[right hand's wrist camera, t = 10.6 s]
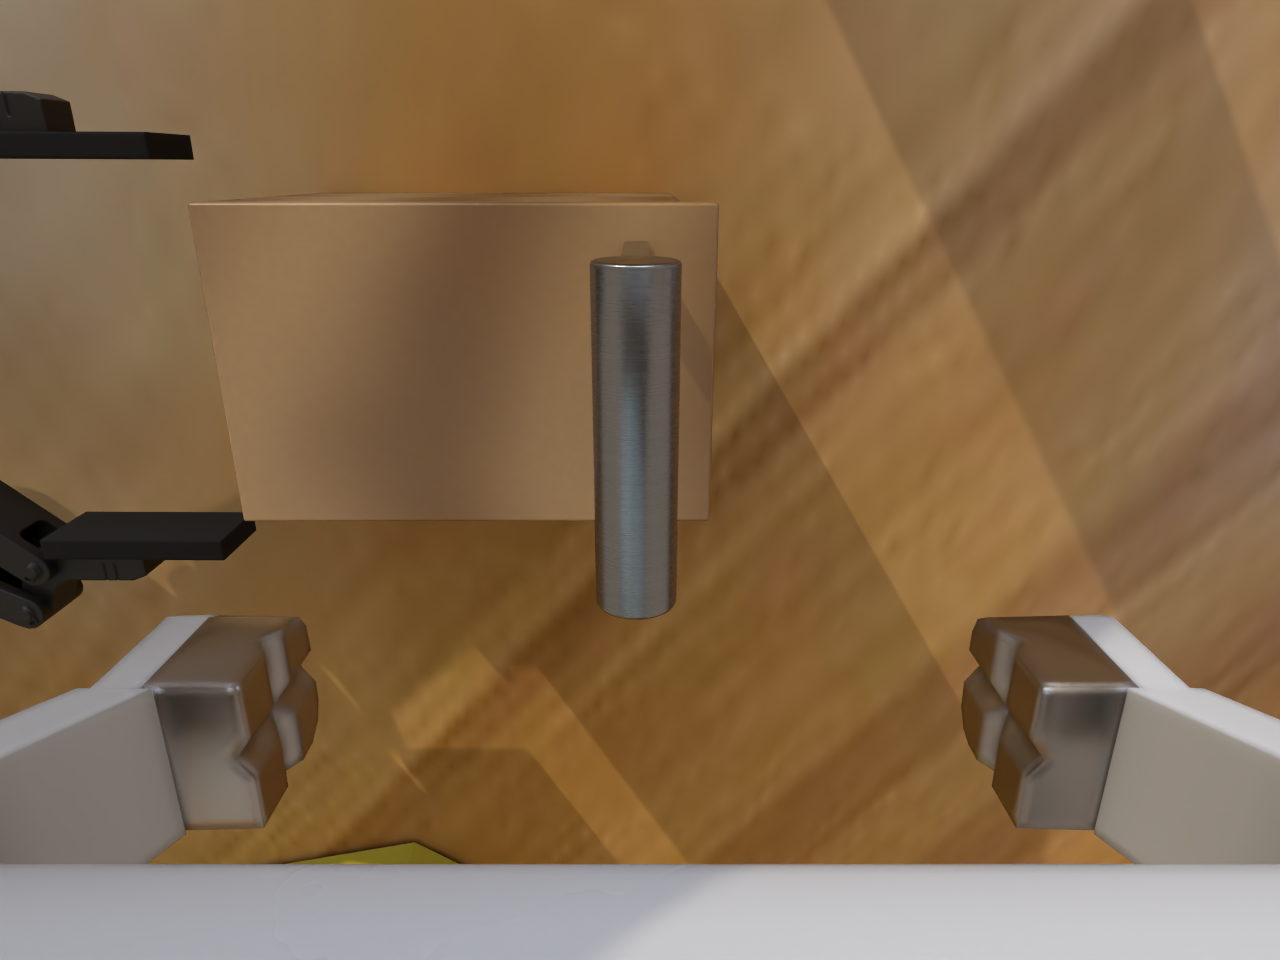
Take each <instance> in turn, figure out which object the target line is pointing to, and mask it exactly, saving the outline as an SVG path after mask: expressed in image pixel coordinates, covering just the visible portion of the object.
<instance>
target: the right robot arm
mask: <svg viewBox="0 0 1280 960" xmlns="http://www.w3.org/2000/svg"><path fill="white" fill-rule="evenodd" d="M310 650H311V648H310V643H309V638H308V633H307V628H306V625H305V624H304V623H303V621H302V620H301V619H300V618H299V617H269V616H215V615H182V616H171V617H166V618H165V619H164V620H163V621H162V622H161V623H160V624H159V625H158V626H157V627H156V628H155V629H153V630H152V631H151V632H150V633H149V634H148V635H147V636H146V637H145V638H144V639H143V640H142V641H141V642H139V643H138V644H137V645H136V646H135V647H134V648H133V649H132V650H131V651H130V652H129V653H128V654H127V655H125V656H124V657H123V658H122V659H121V660H120V661H119V662H118V663H117V664H116V665H115V666H114V667H113V668H111V669H110V670H109V671H108V672H107V673H106V674H105V675H104V676H103V677H102V678H101V679H100V680H99V681H97V682H96V683H95V684H94V685H93V686H92V687H91V688H76V689H73V690H71V691H69V692H66V693H64V694H61V695H59V696H56V697H54V698H52V699H49V700H47V701H44V702H42V703H39V704H37V705H35V706H32V707H30V708H27V709H25V710H22V711H20V712H18V713H15V714H13V715H10V716H8V717H5V718H3V719H1V720H0V960H1280V720H1279V719H1277V718H1274V717H1272V716H1269V715H1267V714H1265V713H1262V712H1260V711H1257V710H1255V709H1253V708H1250V707H1248V706H1245V705H1243V704H1240V703H1238V702H1236V701H1233V700H1231V699H1228V698H1226V697H1223V696H1221V695H1219V694H1216V693H1214V692H1211V691H1209V690H1207V689H1204V688H1189V687H1188V686H1187V685H1186V684H1185V683H1184V682H1183V681H1182V680H1180V679H1179V678H1178V677H1177V676H1176V675H1175V674H1174V673H1173V672H1172V671H1171V670H1170V669H1169V668H1168V667H1167V666H1165V665H1164V664H1163V663H1162V662H1161V661H1160V660H1159V659H1158V658H1157V657H1156V656H1155V655H1154V654H1153V653H1151V652H1150V651H1149V650H1148V649H1147V648H1146V647H1145V646H1144V645H1143V644H1142V643H1141V642H1140V641H1139V640H1137V639H1136V638H1135V637H1134V636H1133V635H1132V634H1131V633H1130V632H1129V631H1128V630H1127V629H1126V628H1125V627H1124V626H1122V625H1121V624H1120V623H1119V622H1118V621H1117V620H1116V619H1115V618H1113V617H1110V616H1106V615H1079V616H1069V615H1068V616H1027V617H988V618H981V619H978V620H977V622H976V624H975V626H974V629H973V631H972V636H971V642H970V648H969V650H970V652H971V653H972V655H973V656H974V658H975V660H976V661H977V663H978V664H979V667H978V668H977V669H976V670H975V671H974V672H973V673H972V674H971V675H970V676H969V677H968V678H967V679H966V680H965V681H964V687H963V695H962V704H961V709H962V719H963V729H964V732H965V735H966V738H967V741H968V745H969V747H970V748H971V750H972V752H973V754H974V756H975V758H976V759H977V760H978V761H980V762H981V763H983V764H984V765H986V766H987V767H989V768H991V769H992V770H994V776H993V782H992V787H993V789H994V791H995V793H996V794H997V796H998V798H999V799H1000V801H1001V803H1002V805H1003V806H1004V808H1005V810H1006V811H1007V813H1008V815H1009V817H1010V818H1011V820H1012V822H1013V823H1014V825H1015V827H1016V828H1032V829H1068V830H1094V834H1095V835H1096V836H1098V837H1099V838H1100V839H1102V840H1103V841H1104V842H1106V843H1107V844H1108V845H1110V846H1111V847H1112V848H1114V849H1115V850H1116V851H1117V852H1119V853H1120V854H1121V855H1123V856H1124V857H1125V858H1127V859H1128V860H1129V861H1131V862H1132V863H1133V864H147V863H148V862H150V861H151V860H152V859H154V858H155V857H156V856H157V855H159V854H160V853H161V852H163V851H164V850H165V849H167V848H168V847H169V846H171V845H172V844H173V843H175V842H176V841H177V840H179V839H180V838H181V837H183V836H184V835H185V834H186V830H211V829H246V828H264V827H265V825H266V824H267V822H268V820H269V818H270V817H271V815H272V813H273V811H274V810H275V808H276V806H277V805H278V803H279V801H280V799H281V798H282V796H283V794H284V792H285V791H286V789H287V787H288V782H287V776H286V770H288V769H289V768H291V767H293V766H294V765H296V764H297V763H299V762H300V761H302V760H303V759H304V757H305V756H306V754H307V752H308V750H309V748H310V746H311V744H312V743H313V738H314V734H315V730H316V726H317V722H318V693H317V686H316V681H315V680H314V679H313V678H312V677H311V676H310V675H309V674H308V673H307V672H306V671H305V670H304V669H303V668H302V667H301V664H302V663H303V661H304V660H305V658H306V656H307V655H308V653H309V652H310Z"/></svg>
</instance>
